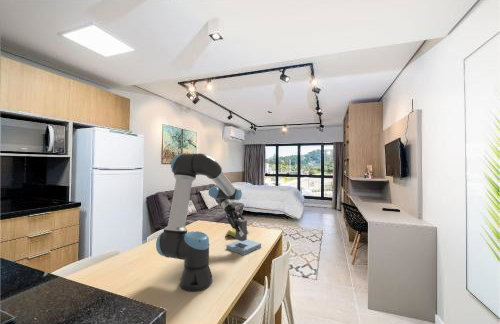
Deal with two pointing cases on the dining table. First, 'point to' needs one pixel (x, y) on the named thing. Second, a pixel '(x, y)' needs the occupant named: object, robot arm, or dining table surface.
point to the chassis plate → (246, 245)
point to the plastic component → (231, 233)
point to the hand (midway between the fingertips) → (245, 234)
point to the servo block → (243, 226)
